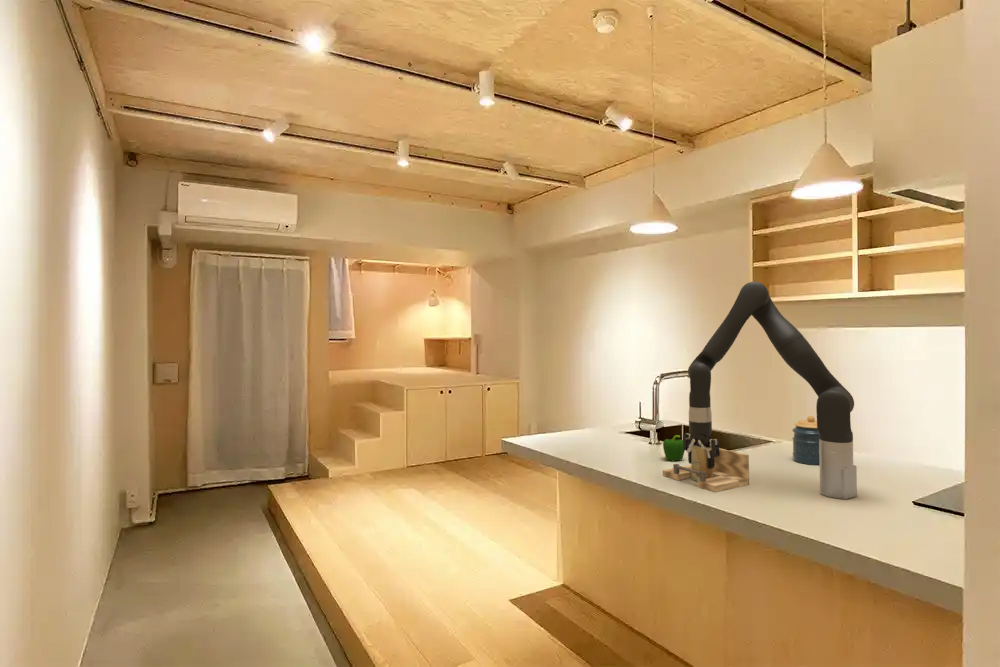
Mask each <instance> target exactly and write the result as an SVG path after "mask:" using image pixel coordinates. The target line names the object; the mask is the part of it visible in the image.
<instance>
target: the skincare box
mask: <svg viewBox="0 0 1000 667" xmlns="http://www.w3.org/2000/svg"><path fill="white" fill-rule="evenodd" d="M691 446H692V445H691ZM706 448H707V449H709V448H711V447H706ZM709 452H710V451H709ZM710 454H711V452H710ZM691 457H692V460H691V464H690V465H692V467H691V468H692V469H693V470H696V471H700V472H701V471H704V472H706V479H708V478H713V469H708V456H707V454H706V452H705V449H704V448H702V447H699V446H695V445H693V446H692V456H691ZM690 479H691V480H694V481H696V482H698V481H699V480H700V475H699V474H696V473H692V472H691V478H690Z"/></svg>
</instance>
